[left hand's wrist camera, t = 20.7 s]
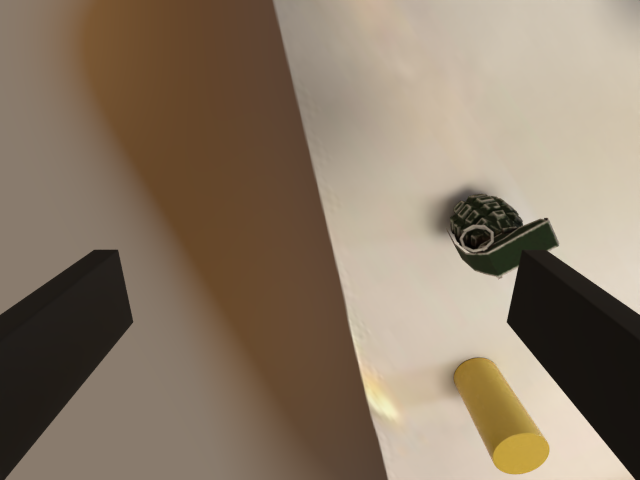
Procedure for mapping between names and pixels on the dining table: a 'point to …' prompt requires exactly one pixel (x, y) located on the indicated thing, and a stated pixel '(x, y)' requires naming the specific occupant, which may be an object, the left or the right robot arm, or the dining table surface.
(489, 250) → the grenade
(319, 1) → the dining table surface
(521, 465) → the canister
